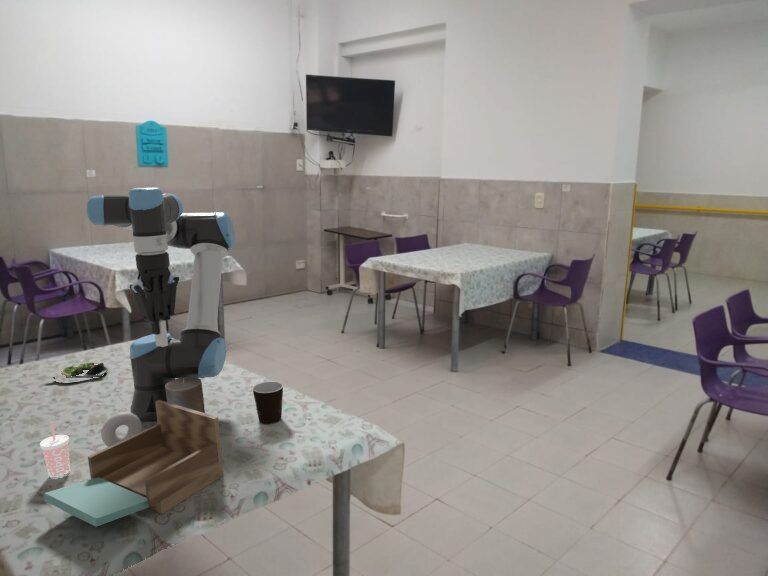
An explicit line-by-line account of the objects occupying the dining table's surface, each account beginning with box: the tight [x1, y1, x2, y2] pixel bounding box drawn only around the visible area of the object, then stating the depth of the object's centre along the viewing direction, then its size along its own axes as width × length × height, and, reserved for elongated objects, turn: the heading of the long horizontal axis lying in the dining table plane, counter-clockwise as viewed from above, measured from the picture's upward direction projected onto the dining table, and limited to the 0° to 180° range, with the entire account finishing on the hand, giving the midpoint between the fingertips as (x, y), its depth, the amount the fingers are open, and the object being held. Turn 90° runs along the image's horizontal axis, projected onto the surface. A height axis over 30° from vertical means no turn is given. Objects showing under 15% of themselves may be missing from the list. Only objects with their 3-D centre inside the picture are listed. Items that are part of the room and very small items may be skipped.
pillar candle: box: [165, 377, 206, 413], centre depth 159 cm, size 10×10×15 cm
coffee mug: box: [252, 380, 284, 425], centre depth 165 cm, size 12×9×10 cm
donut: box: [100, 411, 143, 447], centre depth 149 cm, size 10×4×10 cm, turn 129°
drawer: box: [87, 400, 224, 515], centre depth 131 cm, size 21×20×15 cm
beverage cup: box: [39, 420, 71, 477], centre depth 136 cm, size 6×6×14 cm
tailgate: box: [43, 477, 150, 527], centre depth 119 cm, size 18×3×12 cm
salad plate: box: [61, 362, 108, 378], centre depth 202 cm, size 19×18×5 cm
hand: (162, 345), depth 143 cm, fingers closed
